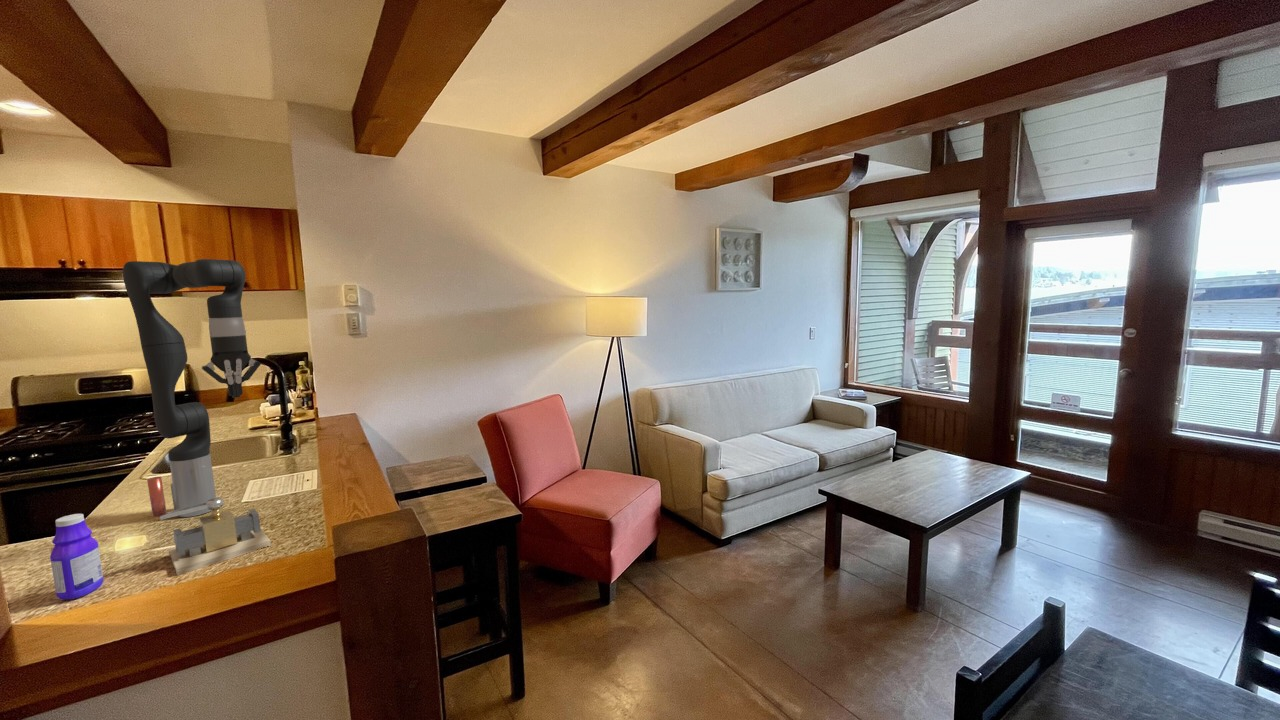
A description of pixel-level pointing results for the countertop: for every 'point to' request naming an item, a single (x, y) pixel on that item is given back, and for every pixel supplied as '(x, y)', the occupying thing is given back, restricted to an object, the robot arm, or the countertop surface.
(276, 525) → the countertop surface
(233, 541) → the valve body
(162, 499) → the valve lever
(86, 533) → the bottle
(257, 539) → the valve board
